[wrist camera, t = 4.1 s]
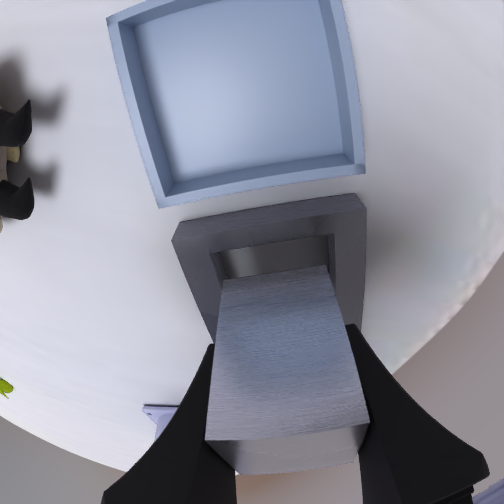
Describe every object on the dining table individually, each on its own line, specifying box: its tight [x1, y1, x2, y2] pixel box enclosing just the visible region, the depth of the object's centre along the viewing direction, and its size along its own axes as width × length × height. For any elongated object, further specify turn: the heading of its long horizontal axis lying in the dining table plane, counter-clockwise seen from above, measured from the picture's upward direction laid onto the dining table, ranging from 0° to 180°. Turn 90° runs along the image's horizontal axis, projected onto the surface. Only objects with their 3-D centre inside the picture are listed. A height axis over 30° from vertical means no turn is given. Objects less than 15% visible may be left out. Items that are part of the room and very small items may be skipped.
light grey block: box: [205, 265, 370, 475], centre depth 10 cm, size 4×4×6 cm
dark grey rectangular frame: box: [171, 193, 366, 343], centre depth 16 cm, size 14×8×2 cm, turn 11°
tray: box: [106, 0, 365, 209], centre depth 9 cm, size 8×8×2 cm
